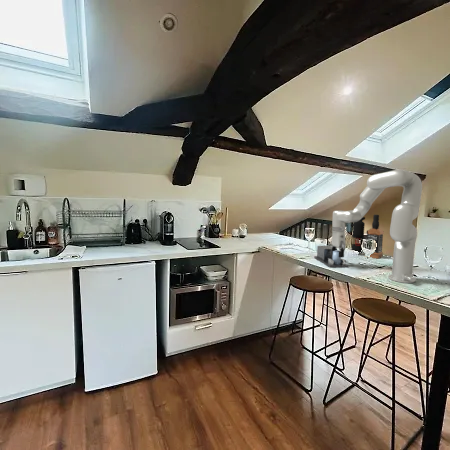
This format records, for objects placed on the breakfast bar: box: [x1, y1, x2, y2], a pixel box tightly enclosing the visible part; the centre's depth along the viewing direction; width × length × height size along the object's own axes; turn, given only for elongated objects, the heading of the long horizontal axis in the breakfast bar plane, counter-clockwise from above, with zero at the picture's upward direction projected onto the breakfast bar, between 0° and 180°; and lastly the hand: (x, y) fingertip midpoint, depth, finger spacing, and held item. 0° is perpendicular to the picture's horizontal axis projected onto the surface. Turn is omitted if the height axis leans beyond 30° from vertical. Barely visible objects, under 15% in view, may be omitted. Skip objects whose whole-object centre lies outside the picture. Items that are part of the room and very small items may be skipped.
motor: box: [314, 245, 349, 269], centre depth 191 cm, size 29×12×10 cm, turn 4°
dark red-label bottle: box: [350, 216, 366, 254], centre depth 216 cm, size 14×9×30 cm
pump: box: [332, 249, 342, 265], centre depth 181 cm, size 5×5×9 cm
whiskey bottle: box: [366, 214, 385, 260], centre depth 207 cm, size 10×10×32 cm
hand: (337, 255), depth 180 cm, fingers open, 9 cm apart
